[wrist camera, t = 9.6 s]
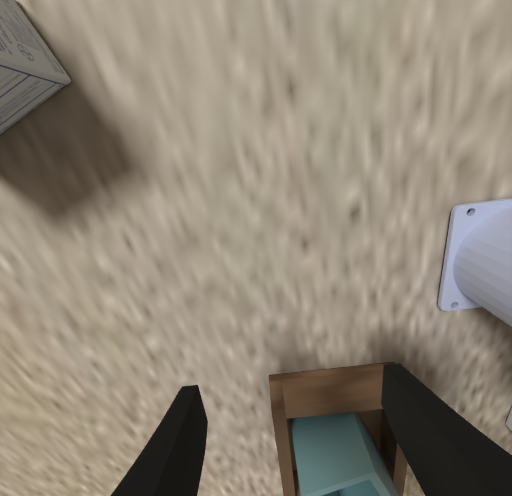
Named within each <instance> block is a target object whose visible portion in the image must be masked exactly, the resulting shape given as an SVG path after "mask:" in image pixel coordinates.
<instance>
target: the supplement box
mask: <svg viewBox="0 0 512 496" xmlns="http://www.w3.org/2000/svg"><path fill="white" fill-rule="evenodd" d="M505 424H506V425H507V427H508V428H509V429H510V430H511V431H512V408H511V410H510V413H509V415H508V418H507V421H506V423H505Z"/></svg>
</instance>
